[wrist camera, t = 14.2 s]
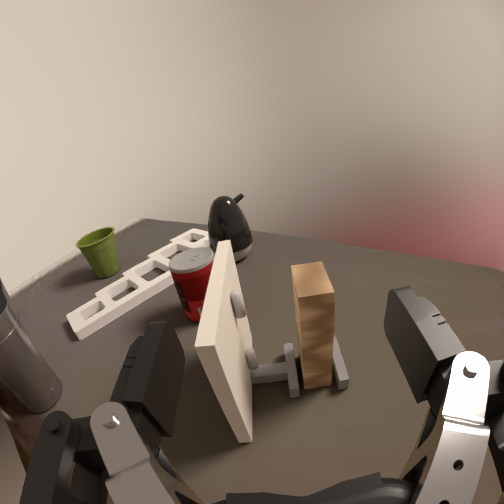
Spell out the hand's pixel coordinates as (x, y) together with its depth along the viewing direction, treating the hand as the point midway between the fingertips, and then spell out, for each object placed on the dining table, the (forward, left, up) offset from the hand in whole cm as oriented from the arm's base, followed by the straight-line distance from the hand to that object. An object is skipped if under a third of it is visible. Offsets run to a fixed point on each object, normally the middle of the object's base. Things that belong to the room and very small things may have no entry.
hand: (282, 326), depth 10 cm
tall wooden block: (+4, +17, -24) cm, 30 cm away
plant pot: (-45, +55, -24) cm, 75 cm away
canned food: (-13, +34, -24) cm, 44 cm away
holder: (-31, +49, -25) cm, 63 cm away
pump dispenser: (-9, +54, -24) cm, 59 cm away
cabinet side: (0, +16, -24) cm, 29 cm away
